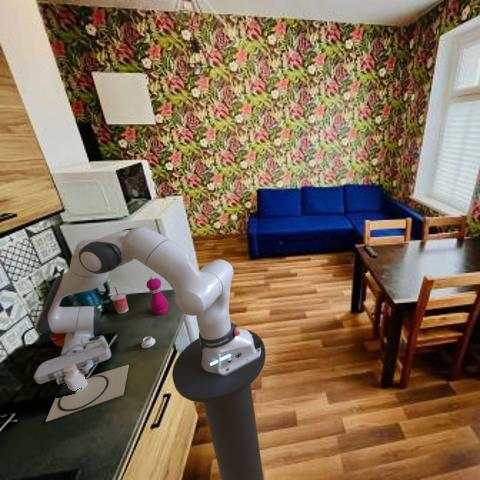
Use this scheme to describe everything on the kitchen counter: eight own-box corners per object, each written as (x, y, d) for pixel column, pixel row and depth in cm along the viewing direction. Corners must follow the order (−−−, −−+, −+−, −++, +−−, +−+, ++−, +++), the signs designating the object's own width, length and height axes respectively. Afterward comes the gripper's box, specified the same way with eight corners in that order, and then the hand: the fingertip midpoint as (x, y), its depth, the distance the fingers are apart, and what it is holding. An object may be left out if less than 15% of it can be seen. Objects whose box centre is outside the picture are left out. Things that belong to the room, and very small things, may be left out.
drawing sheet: (129, 365, 102) (128, 364, 102) (123, 395, 90) (123, 393, 90) (61, 386, 93) (60, 385, 93) (45, 422, 82) (45, 421, 82)
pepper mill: (158, 317, 128) (148, 281, 120) (150, 312, 131) (139, 277, 124) (172, 309, 134) (163, 275, 126) (164, 305, 137) (155, 271, 129)
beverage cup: (121, 306, 136) (113, 283, 130) (133, 307, 135) (125, 283, 130) (112, 314, 130) (103, 290, 125) (124, 314, 130) (116, 290, 124)
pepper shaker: (82, 381, 95) (72, 361, 91) (89, 384, 93) (79, 365, 90) (68, 390, 91) (58, 370, 88) (76, 394, 90) (65, 374, 86)
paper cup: (56, 339, 115) (43, 312, 109) (78, 333, 118) (67, 307, 113) (49, 351, 108) (35, 323, 103) (73, 344, 112) (61, 318, 106)
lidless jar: (153, 338, 115) (140, 344, 112) (152, 332, 114) (138, 338, 111) (157, 344, 112) (143, 350, 109) (155, 338, 111) (141, 345, 108)
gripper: (35, 357, 93) (25, 386, 83) (108, 333, 104) (107, 356, 93) (43, 370, 95) (33, 400, 85) (113, 346, 106) (112, 369, 96)
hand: (72, 377), depth 89 cm, fingers closed on pepper shaker, 5 cm apart
